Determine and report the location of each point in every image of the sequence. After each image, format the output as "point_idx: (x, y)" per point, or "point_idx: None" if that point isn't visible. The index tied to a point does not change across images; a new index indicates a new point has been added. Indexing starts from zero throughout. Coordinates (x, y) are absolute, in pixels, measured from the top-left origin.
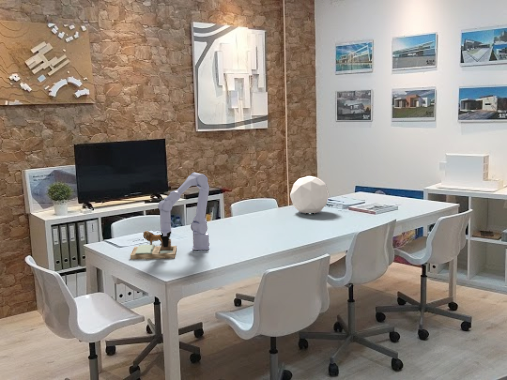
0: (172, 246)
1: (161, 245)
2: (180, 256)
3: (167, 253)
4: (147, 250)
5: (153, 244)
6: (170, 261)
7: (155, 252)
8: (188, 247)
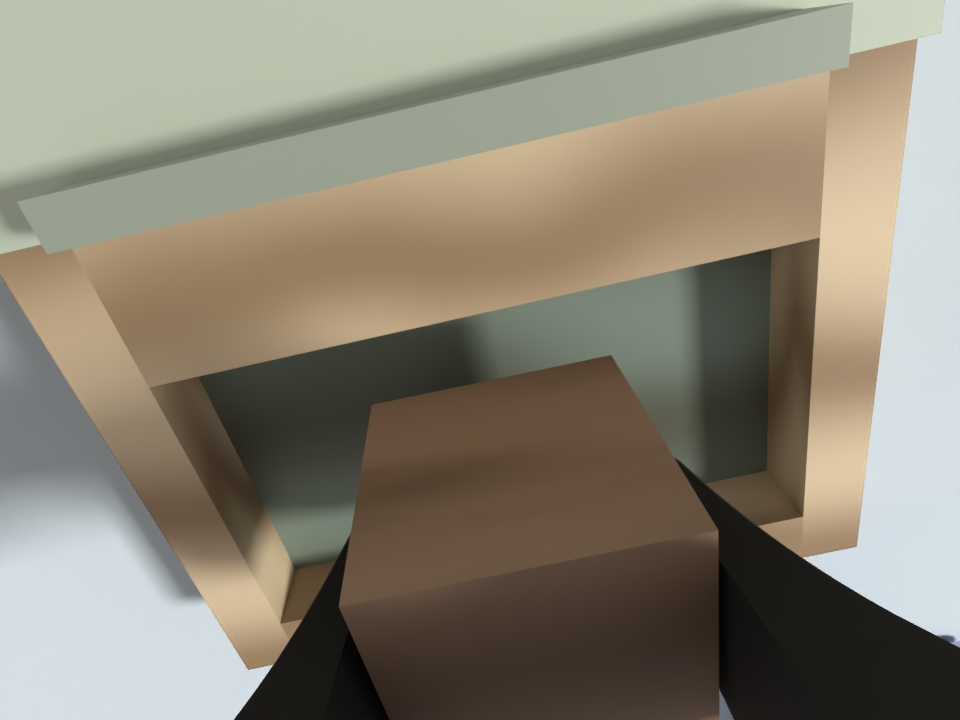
0: (805, 493)
1: (359, 492)
2: None
3: (208, 562)
4: (130, 2)
5: (745, 60)
6: (58, 585)
7: (198, 286)
8: (946, 592)
